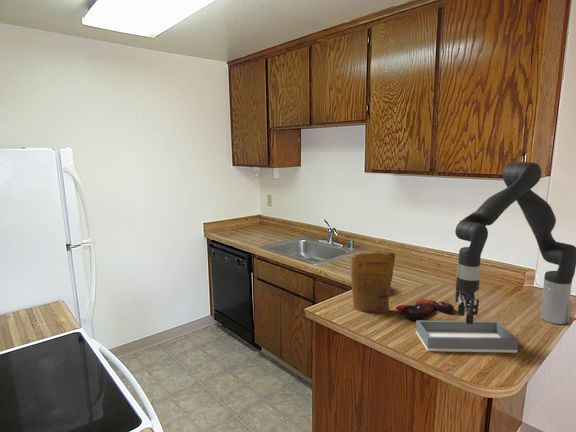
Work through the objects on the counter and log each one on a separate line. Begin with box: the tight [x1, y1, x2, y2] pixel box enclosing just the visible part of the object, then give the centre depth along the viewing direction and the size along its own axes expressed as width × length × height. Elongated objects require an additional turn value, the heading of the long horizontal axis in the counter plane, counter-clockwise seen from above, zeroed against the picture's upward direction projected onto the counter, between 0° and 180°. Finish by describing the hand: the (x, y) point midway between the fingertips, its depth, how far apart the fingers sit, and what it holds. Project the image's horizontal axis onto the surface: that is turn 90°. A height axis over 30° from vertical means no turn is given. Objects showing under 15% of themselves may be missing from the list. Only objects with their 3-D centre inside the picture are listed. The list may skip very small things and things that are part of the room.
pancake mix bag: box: [350, 251, 396, 314], centre depth 159 cm, size 7×19×28 cm, turn 84°
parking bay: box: [415, 320, 519, 354], centre depth 134 cm, size 31×14×5 cm, turn 87°
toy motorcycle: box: [395, 298, 455, 321], centre depth 161 cm, size 25×5×16 cm
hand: (465, 319), depth 133 cm, fingers open, 6 cm apart
